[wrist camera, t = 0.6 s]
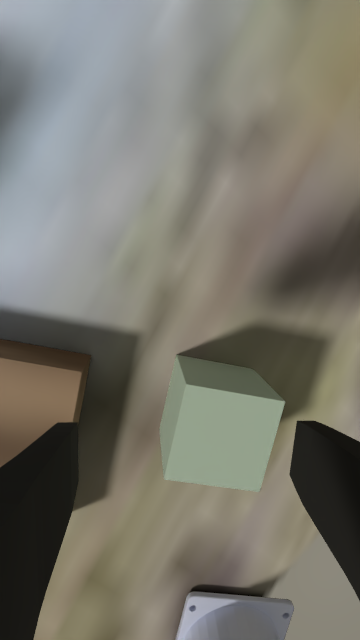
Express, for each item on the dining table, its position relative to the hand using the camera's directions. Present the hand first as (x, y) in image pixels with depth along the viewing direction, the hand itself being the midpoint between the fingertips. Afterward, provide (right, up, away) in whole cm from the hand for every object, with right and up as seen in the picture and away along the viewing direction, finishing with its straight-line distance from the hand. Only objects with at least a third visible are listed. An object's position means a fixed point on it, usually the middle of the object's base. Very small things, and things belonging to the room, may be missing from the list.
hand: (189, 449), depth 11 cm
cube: (+1, -1, +10) cm, 11 cm away
